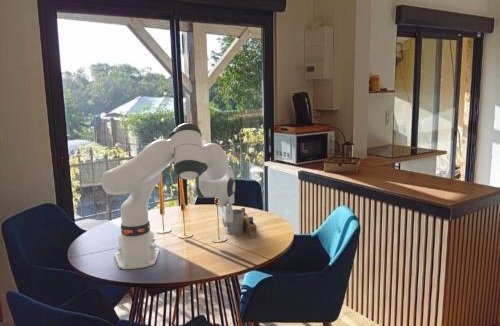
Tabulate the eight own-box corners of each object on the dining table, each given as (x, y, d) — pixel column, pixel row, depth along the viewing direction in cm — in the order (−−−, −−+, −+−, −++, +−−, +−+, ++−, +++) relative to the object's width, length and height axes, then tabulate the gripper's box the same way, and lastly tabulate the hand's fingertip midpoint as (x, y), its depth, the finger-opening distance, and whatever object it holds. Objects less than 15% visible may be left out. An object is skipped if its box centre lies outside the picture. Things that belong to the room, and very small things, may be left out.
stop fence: (256, 237, 190) (256, 219, 188) (250, 238, 189) (250, 220, 188) (244, 222, 213) (244, 206, 211) (238, 223, 212) (238, 206, 210)
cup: (247, 230, 200) (247, 211, 199) (237, 235, 194) (236, 215, 192) (234, 227, 206) (234, 208, 204) (224, 231, 199) (223, 212, 197)
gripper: (236, 204, 187) (236, 232, 189) (227, 193, 206) (227, 219, 209) (222, 205, 185) (223, 233, 188) (215, 194, 205) (215, 220, 207)
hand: (225, 226), depth 198 cm, fingers closed, pressing on cup
